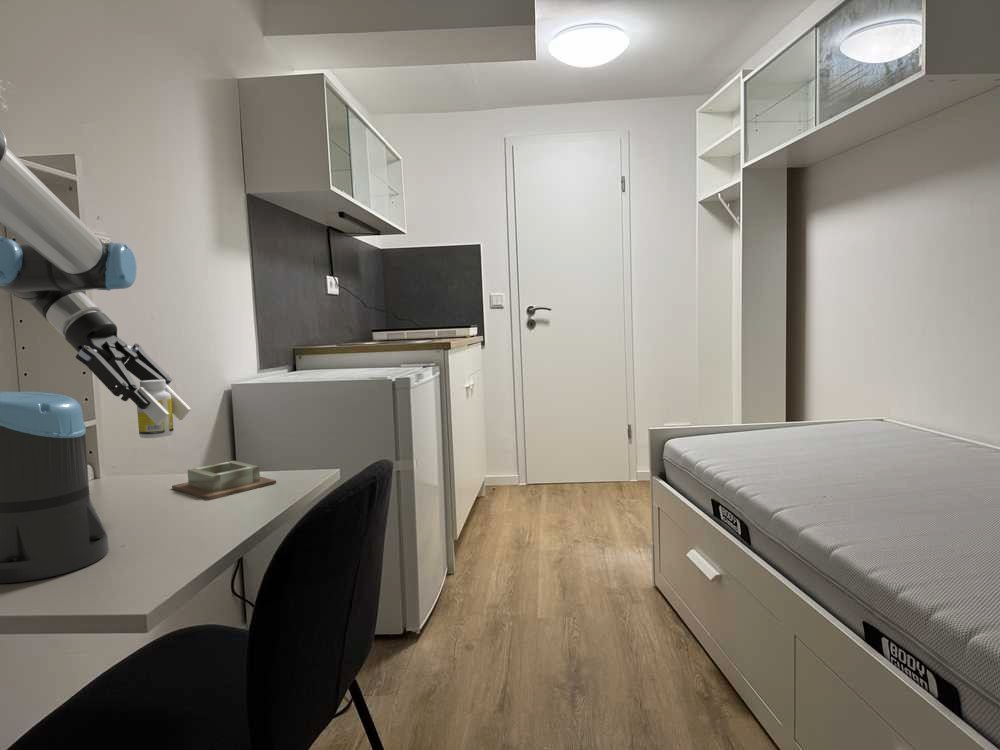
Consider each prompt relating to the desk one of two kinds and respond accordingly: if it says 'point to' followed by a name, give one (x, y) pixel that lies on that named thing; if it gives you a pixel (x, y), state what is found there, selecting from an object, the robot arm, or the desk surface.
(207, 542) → the desk surface
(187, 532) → the desk surface
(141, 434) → the supplement bottle
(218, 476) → the socket board
